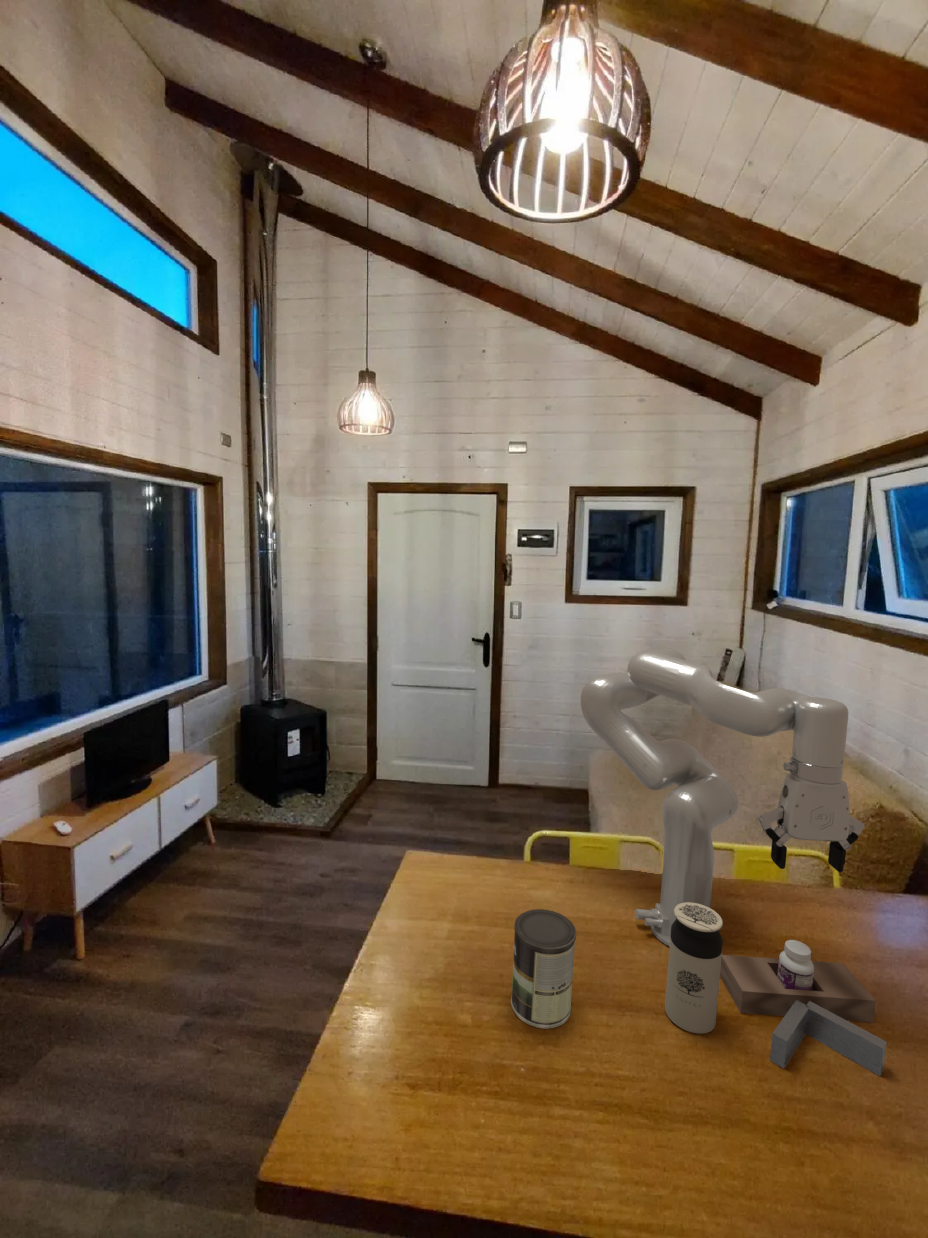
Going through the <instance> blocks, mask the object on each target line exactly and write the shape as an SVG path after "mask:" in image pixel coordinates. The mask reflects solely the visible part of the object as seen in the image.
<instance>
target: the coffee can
mask: <svg viewBox="0 0 928 1238" xmlns="http://www.w3.org/2000/svg"><path fill="white" fill-rule="evenodd" d="M513 926H514V928H513V929H514V939H513V941H514V942H513V961H512V981H511V996H510V997H511V998H510V1005H511V1008H512V1011H513V1012H514V1014H515V1015H516V1016H517V1017H518V1019H520V1020H521V1021H522V1022H523V1023H525V1024H526V1025H529V1026H530V1027H533V1028H537V1029H544V1030H545V1029H547V1030H548V1029H554V1028H555V1029H556V1028H559V1027H560V1026H562V1025H563V1024H565V1023H566V1022H567V1021H568V1020H569V1018H570V1016H571V1013H572V1012H571V1011H572V1005H571V1003H572V988H573V975H574V960H575V959H574V958H575V941H576V938H577V929H576V926H575V925H574V923H573V922H572V921H571V920H570V919H569V918H568V917H566V916H564V915H563V914H562V913H560V912H558V911H553V910H550V909H549V910H548V909H544V908H543V909H542V908H540V909H539V908H537V909H531V910H526V911H525V912H522V913H521V914H519V915H518V916H517V918H516V919H515V920H514V925H513Z"/></svg>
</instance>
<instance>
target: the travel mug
mask: <svg viewBox="0 0 928 1238" xmlns="http://www.w3.org/2000/svg"><path fill="white" fill-rule="evenodd" d="M674 914H675V916H676V920H675V921H674V922H673V924H672V926H671V935H670V947H669V949H668V950H669V951H668V962H667V963H668V965H667V974H666V975H667V976H666V988H665V989H666V990H665V1002H664V1010H665V1013H666V1016H667V1017H668V1018H669V1020H670V1021H671V1022H672V1023H674V1025H676V1026H677V1027H679V1028H681V1029H683V1030H685V1031H687V1032H690V1033H694V1034H707V1033H710V1032H712V1031H713V1030H714V1029H715V1027H716V1023H717V1016H718V1015H717V1013H718V1002H719V1000H718V999H719V992H720V991H719V990H720V989H719V988H720V979H721V977H720V969H721V957H722V955H723V943H724V939H723V937H722V934H721V932H720V930H721V928H722V927H723V925H724V924H723V918H722V917H721V915H719V913H717V912H716V910H714V909H712V908H711V907H710V908H709V907H706V906H704V905H701V904H697V903H691V902H686V903H681V904H678V905H677V906H676V907H675V908H674Z"/></svg>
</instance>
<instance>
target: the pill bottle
mask: <svg viewBox="0 0 928 1238" xmlns="http://www.w3.org/2000/svg"><path fill="white" fill-rule="evenodd" d="M811 958H812V951H811V948H810V947H809V946H808V945H807V944H805V943H803V942H802V941H799V940H795V939H788V940H786V941H785V943H784V949H783V951H781V952H780V954H779V956H778V959H779V963H778V974H777V977H778V979H779V980H780V982H781V983H782V985H783V986H784V988H785V989H793V990H807V991H812V983H813V974H814V966H813V963H812V961H813V960H812V959H811Z"/></svg>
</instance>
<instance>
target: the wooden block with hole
mask: <svg viewBox="0 0 928 1238" xmlns="http://www.w3.org/2000/svg"><path fill="white" fill-rule="evenodd" d="M811 961H812V963H813V966H814V974H813V983H812V991H807V990H793V989H785V988H784V986H783V985H782V983H781V982H780V980H779V979H778V977H777V974H778V963H779V958H775V957H774V958H773V957H759V956H743V955H729V954H722V957H721V969H720V979H721V981H722V982H723V984H724V986H725V987H726V989H727V991H728V993H729V995H730V997H731V998H732V1000H733V1002H734V1004H735V1006H736V1008H737V1009H738V1012H739V1013H740V1014H748V1015H749V1014H751V1015H763V1016H775V1017H776V1016H777V1017H784V1016H785V1015H786V1014H787V1012H788V1011H789V1009H790V1008H791V1007H792V1005H793V1004H794V1002H795V1001H796V1000H798V1001H799V1002H801V1003H803V1004H805V1005H807V1004H808V1002H809V1001H811V1002H813V1003H815V1004H816V1005H818V1006H820V1007H822V1008H824V1009H826V1010H828V1011H830V1012H832V1013H833V1014H835V1015H837V1016H839V1017H841V1018H843V1019H845V1020H847V1021H849V1022H859V1023H873V1024H874V1022H875V1012H876V1007H877V1006H876V1005H877V1000H876V999H875V997H873V995H872V994H871V993H870V992H869V991H868V990H867V988H865V986H864V985H863V984H862V983H861V981H860V980H859V979H858V978H857V977H856V976H855V975H854V974H853V972H851V970H850V969H849V968H848V966H846V965H845V964H844V962H843V963H842V962H830V961H815V960H811Z"/></svg>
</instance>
